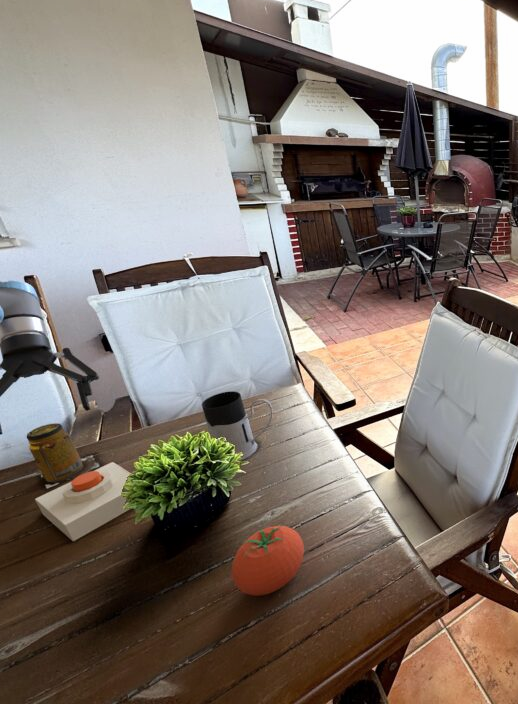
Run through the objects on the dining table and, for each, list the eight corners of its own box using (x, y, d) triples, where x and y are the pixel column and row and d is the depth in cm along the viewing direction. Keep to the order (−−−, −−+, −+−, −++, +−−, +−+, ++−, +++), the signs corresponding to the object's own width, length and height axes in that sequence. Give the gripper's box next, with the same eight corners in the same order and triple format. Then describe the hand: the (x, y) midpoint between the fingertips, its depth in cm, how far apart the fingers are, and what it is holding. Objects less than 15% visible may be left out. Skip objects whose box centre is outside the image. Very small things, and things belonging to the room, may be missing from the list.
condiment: (40, 475, 90) (17, 431, 86) (92, 455, 97) (73, 413, 93) (47, 489, 86) (23, 444, 82) (100, 467, 93) (80, 423, 89)
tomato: (321, 563, 70) (311, 520, 67) (269, 620, 61) (254, 574, 58) (280, 544, 74) (268, 502, 70) (224, 595, 65) (208, 551, 61)
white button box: (43, 515, 80) (30, 491, 78) (119, 476, 90) (109, 455, 88) (73, 542, 74) (60, 517, 72) (151, 497, 84) (142, 475, 82)
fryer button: (70, 488, 79) (67, 481, 79) (97, 475, 83) (93, 468, 82) (79, 494, 78) (76, 487, 77) (106, 481, 81) (103, 474, 80)
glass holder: (223, 444, 101) (207, 392, 95) (285, 435, 104) (273, 385, 99) (208, 467, 93) (190, 412, 88) (276, 456, 96) (263, 403, 91)
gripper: (101, 333, 106) (122, 404, 101) (-54, 363, 89) (-37, 449, 84) (93, 320, 100) (115, 394, 95) (-73, 348, 84) (-56, 439, 79)
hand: (44, 420), depth 90 cm, fingers open, 13 cm apart
